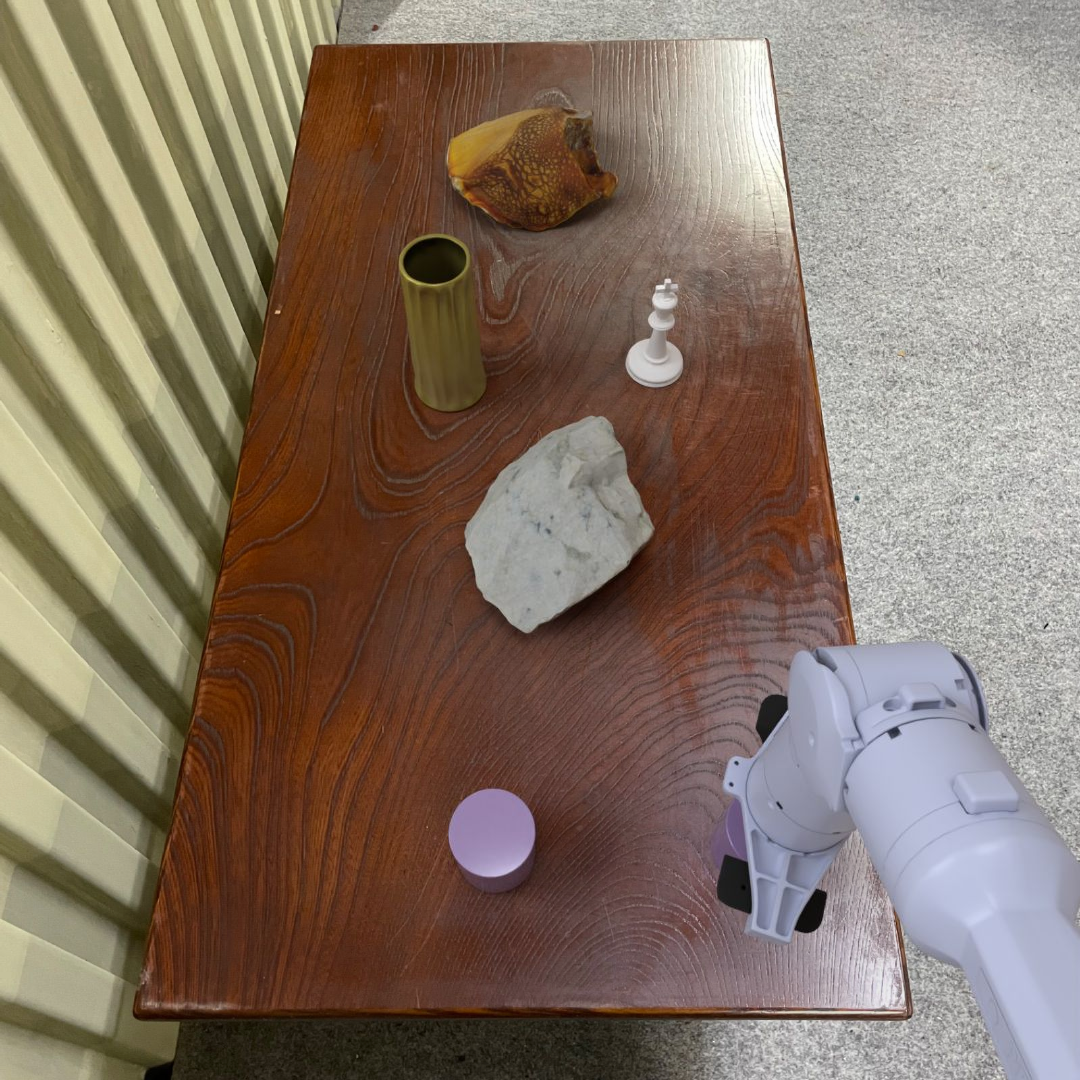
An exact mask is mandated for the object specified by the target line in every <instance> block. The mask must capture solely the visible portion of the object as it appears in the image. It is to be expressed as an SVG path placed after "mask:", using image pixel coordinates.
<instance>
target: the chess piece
mask: <svg viewBox="0 0 1080 1080" xmlns="http://www.w3.org/2000/svg"><path fill="white" fill-rule="evenodd" d="M654 290H655V292H654V293H653V295H652V297H651V302H652V306H653V309H654V310H653V311H652V312H651V313H650V314H649V316H648V318H647V322H648V324H649V326H650V327H651V328H652V332H651V336H650V338H645V339H641V340H640V341H637V342H635V344H633V345H632V346H631V348H630V349H629V350H628V353H627V354H626V358H625V369H626V372H627V374H628V375H629V377H630V378H631V379H632V380H634V381H635V382H636V383H638V384H640V385H641V386H643V387H649V388H664V387H668V386H670V385H672V384H673V383H675V382H676V381H677V380H678V379H679V378H681V375H682V373H683V369H684V359H683V355H682V353H681V351H680V350H679V348H678V347H677V346H676V345H675V344H673V343H672V342H670V341H668V340H667V331H669V330H671V329H672V328H673V327H674V326H675V322H676V320H675V316H674V314H673V313H672V312H673V311H674V310H675V308H676V307H677V305H678V302H679V298H678V295H676V293H678V292H679V286H678V283H672V279H671V278H664V280H663V284H659V285H655V289H654Z"/></svg>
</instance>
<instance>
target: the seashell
mask: <svg viewBox="0 0 1080 1080" xmlns="http://www.w3.org/2000/svg"><path fill="white" fill-rule="evenodd" d="M595 113H596V111H595V110H594V109H589V110H586V109H584V110H578V109H576V108H573V107H566V106H565V107H564V106H558V105H551V104H547V105H544V106H539V107H536V108H535V107H534V108H527V109H524V110H521V111H517V112H513V113H510V114H507V115H504V116H501V117H498V118H496V119H493V120H490V121H484V122H483V123H481V124H478V125H477V126H474V127H472V128H470V129H468V130H466V131H464V132H462V133H460V134H459V135H457V136H455V137H451V138H450V140H449V143H448V147H447V152H446V158H445V159H446V163H445V164H446V167H447V173H448V178H449V179H450V181H451V186H452V188H453V190H454V191H455V192H457V193H459V195H461V196H462V198H465V199H466V200H467V201H468V202H469V203H470V204H471V206H476V207H478V208H479V209H481V210H482V211H483V213H486V214H488V215H489V216H490V217H492V218H493V219H494V220H495V221H496V222H498V223H500V224H503V225H507V226H509V227H511V228H513V229H515V228H517V229H523V228H525V229H527V230H529V231H531V232H541V231H545V230H547V229H553V228H556V227H557V226H558V225H559V224H561V223H564V222H566V221H567V220H568V219H570V218H571V217H572V216H574V215H575V213H577V211H579V210H581V209H583V208H584V207H586V206H587V205H588V204H589V203H591V202H594V201H596V200H598V199H600V198H601V199H602V200H608V199H611V198H612V196H613V195H614V193H615V191H616V189H617V187H618V185H619V184H620V175H619V174H618V173H612V172H611V171H607V170H604V169H603V168H602V167H601V164H600V161H599V155H598V151H597V150H596V149H595V132H594V126H593V124H594V122H593V119H592V118H593V117H594V116H595Z"/></svg>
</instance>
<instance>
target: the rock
mask: <svg viewBox="0 0 1080 1080" xmlns="http://www.w3.org/2000/svg"><path fill="white" fill-rule="evenodd" d="M626 457H627V456H626V452H625V449H624V448H623V446H621V444H620V443H619V442H618V441H617V439H616V435H615V430H614V427H613V425H612V423H611V422H610V421H609V420H608V419H607V418H606V417H604V416H602V415H600V416H599V415H598V416H593V415H589V416H587V417H584V418H582V419H580V420H578V421H577V422H573V423H570V424H568V425H565V426H563V427H561V428H559V429H555V430H552V431H551V432H549V433H548V434H546V435H545V436H544V437H542V438H541V439H539V440H538V441H537V442H536V443H535V444H534V445H533V446H531V447H529V448H528V450H527V451H526V452H525V453H523V455H521V456H520V457H519V458H518V459H516V460H515V461H513V462H511V463H509V464H508V465H507V466H506V467H505V468H503V469H502V470H501V471H500V472H499V473H498V475H497V477H496V479H495V480H494V482H493V483H491V485H490V486H489V488H488V489H487V493H486V494H485V497H484V500H483V501H481V504H480V506H479V507H478V508H477V510H476V512H475V514H474V515H473V516H472V517H471V519H470V520H469V521H468V522H466V527H465V530H464V539H465V545H464V546H465V549H466V551H467V552H468V555H469V556H470V557H471V561H472V566H473V570H474V575H475V585H476V588H477V589H478V590H479V591H480V592H481V593H482V597H483V598H484V600H485V601H487V602H488V603H491V604H492V605H493V606H495V607H496V608H498V609H499V611H500V612H501V614H502V615H503V616H504V617H505V618H506V620H507V621H508V622H509V624H510V625H512V626H513V627H515V628H517V629H518V630H519V631H521V632H522V633H524V634H527V635H531V634H533V633H534V632H535V631H536V630H537V629H538V628H542V627H543V626H545V625H547V624H549V623H550V622H552V621H554V620H555V619H557V618H558V617H560V616H561V615H563V614H565V612H567V611H568V610H569V609H571V608H572V607H573V606H575V605H577V604H578V603H580V602H582V601H583V600H585V599H586V598H588V597H589V596H591V595H593V594H594V593H595V592H597V591H598V590H600V589H601V588H602V587H603V586H604V585H606V584H607V583H608V582H609V581H610V580H612V579H613V578H614V577H615V576H617V575H618V574H619V573H621V572H622V571H624V570H625V569H626V568H627V567H628V566H629V564H630V563H631V561H632V560H633V559H634V558H635V557H636V556H637V555H639V553H640V552H641V551H642V550H643V549H644V548H645V547H646V546H647V545H648V544H649V543H650V541H651V539H652V537H653V535H654V531H655V530H656V529H655V526H654V525H653V523H652V520H651V516H650V514H649V513H648V512H647V511H646V509H645V507H644V505H643V502H642V499H641V495H640V493H639V491H638V490H637V489H636V488H635V486H634V485H633V483H631V479H630V478H629V475H628V463H627V458H626Z"/></svg>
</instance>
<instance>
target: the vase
mask: <svg viewBox="0 0 1080 1080" xmlns="http://www.w3.org/2000/svg"><path fill="white" fill-rule="evenodd" d="M398 270H399V278H400V284H401V289H402V295H403V300H404V308H405V314H406V315H405V316H406V323H407V329H408V330H407V331H408V339H409V347H410V355H411V363H412V367H413V368H412V369H413V372H414V390H415V392H416V395H417V396H418V398H419V400H420V401H421V402H422V403H423V404H425V405H426V406H428V407H429V408H431V409H433V410H436V411H440V412H447V413H452V412H458V411H459V412H460V411H462V410H466V409H468V408H470V407H472V406H473V405H475V404H476V403H477V402H478V401H479V400H480V399H481V398H482V397H483V395H484V393H485V391H486V390H487V381H488V379H487V373H486V370H485V367H484V363H483V358H482V351H481V350H482V349H481V338H480V336H481V335H480V329H479V320H478V315H477V313H478V312H477V307H476V296H475V295H476V294H475V284H474V283H475V282H474V273H473V264H472V257H471V254H470V250H469V249H468V247H467V245H466V244H465V243H464V242H463V241H461V240H460V239H458V238H456V237H454V236H452V235H450V234H444V233H429V234H425V235H421V236H419V237H416V238H415V239H412V241H410V242H409V243H407V244H406V246H405V247H403V249H402V250H401V252H400V254H399V257H398Z"/></svg>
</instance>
